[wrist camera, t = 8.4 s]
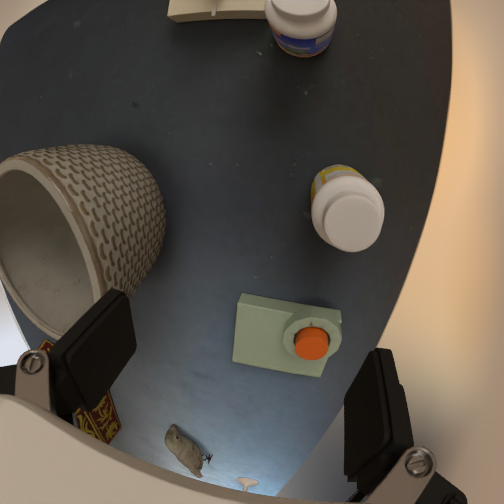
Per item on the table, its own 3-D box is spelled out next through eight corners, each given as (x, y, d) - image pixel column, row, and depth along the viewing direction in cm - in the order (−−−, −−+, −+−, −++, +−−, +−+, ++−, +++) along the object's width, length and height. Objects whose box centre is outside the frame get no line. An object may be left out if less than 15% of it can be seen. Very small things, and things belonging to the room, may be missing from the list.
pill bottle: (263, 40, 22) (240, 3, 13) (294, 4, 19) (284, -45, 11) (311, 68, 22) (312, 39, 13) (341, 31, 20) (355, -11, 11)
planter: (220, 235, 31) (149, 328, 17) (122, 283, 37) (51, 355, 23) (145, 102, 26) (27, 105, 12) (63, 180, 32) (-28, 220, 18)
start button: (331, 329, 29) (332, 339, 28) (323, 351, 31) (323, 362, 29) (299, 323, 30) (298, 334, 28) (293, 347, 31) (291, 357, 30)
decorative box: (45, 337, 51) (8, 376, 38) (104, 372, 50) (68, 423, 36) (71, 398, 64) (47, 432, 50) (121, 427, 62) (99, 466, 49)
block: (345, 301, 32) (348, 323, 28) (322, 366, 37) (321, 387, 33) (242, 283, 33) (234, 302, 30) (235, 350, 38) (228, 370, 35)
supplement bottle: (338, 228, 28) (349, 278, 19) (299, 191, 28) (293, 225, 18) (376, 191, 26) (408, 226, 17) (338, 151, 25) (354, 164, 16)
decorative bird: (182, 423, 52) (171, 450, 45) (216, 455, 57) (208, 479, 51) (164, 422, 54) (152, 447, 47) (198, 454, 59) (190, 476, 52)
